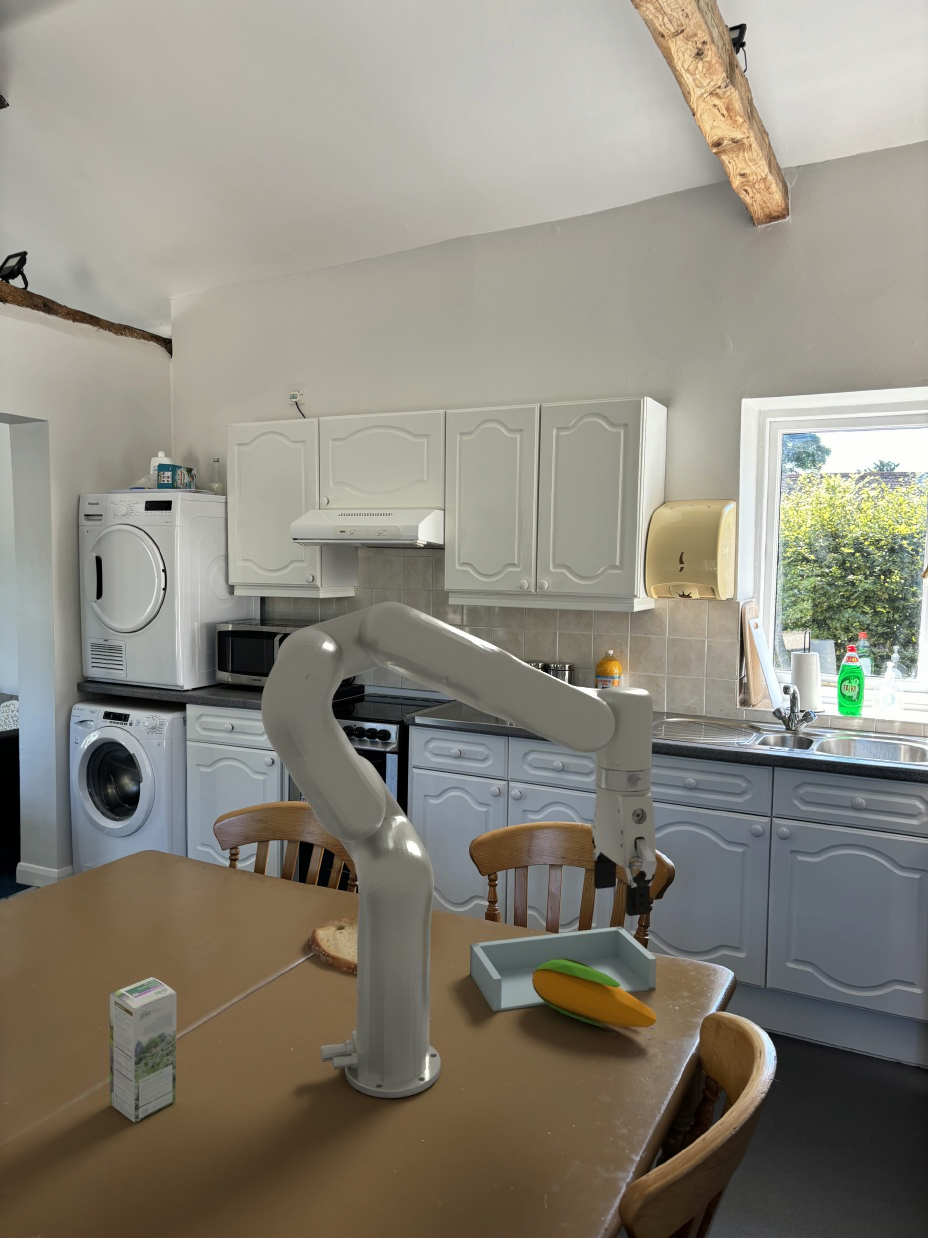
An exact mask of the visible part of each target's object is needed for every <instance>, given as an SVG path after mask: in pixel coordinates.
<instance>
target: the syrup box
mask: <svg viewBox="0 0 928 1238" xmlns="http://www.w3.org/2000/svg"><path fill="white" fill-rule="evenodd" d="M109 1055H110V1056H109V1060H110V1063H109V1069H110V1071H109V1072H110V1073H109V1078H110V1079H109V1083H110V1084H109V1089H110V1090H109V1093H110V1095H109V1096H110V1099H109V1101H110V1105H111V1106H112V1107H113V1108H114V1109H116V1110H117V1111H118V1112H120V1113H121V1114H122V1115H124V1116H125V1117H126V1118H128V1119H129V1120H130V1121H132V1122H133V1123H134V1124H135V1123H137V1122H139V1121H142V1120H143V1119H145V1118H147V1117H150V1116H151V1115H152V1114H154V1113H157V1112H158V1111H160V1110H162V1109H164V1108H166V1107H167V1106H168V1107H169V1106H170V1105H171V1104H173V1103H175V1102H176V1100H177V992H176V991H175V990H174V989H172V988H171V987H170V986H169V985H167V984H165V983H164V982H162V981H161V980H159V979H157V978H155V977H152V976H151V977H149V978H146V979H143V980H141V981H137V982H136V983H133V984H131V985H128V986H126V987H124V988H123V987H122V988H121V989H118V990H116V991H113V992H111V993H110V994H109Z"/></svg>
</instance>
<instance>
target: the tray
mask: <svg viewBox="0 0 928 1238" xmlns="http://www.w3.org/2000/svg"><path fill="white" fill-rule="evenodd" d="M469 947H470V949H469V950H470V951H469V954H470V955H469V974H470V977H472V979H473V981H474V982H475V984H476V986H477V987H478V988H479V991H480V992H481V994H482V995H483V997H484V999H485V1000H486V1002H487V1003H488V1005H489V1007H490V1008H491V1010H492V1011H493V1012H494V1013H495V1012H501V1011H508V1010H514V1009H522V1008H530V1007H536V1006H544V1005H547V1004H546V1003H545V1002H544V1001H543V1000H542V999H541V998H540V997H539V996H538V994H537V993H536V991H535V990H534V987H533V983H532V979H533V972H534V971H535V970H536V969H537V968H538V967H539V965H541V964H543V963H545V962H548V961H551V960H554V959H569V960H573V961H576V962H580V963H583V964H585V965H587V966H589V967H591V968H593V969H595V970H597V971H599V972H602V973H604V974H606V975H608V976H609V977H611V978H613V979H614V980H616V981H617V982H618V983H619V984H620V986H619V987H620V988H621V989H623V990H624V991H626V992H627V993H628V994H630V993H637V992H645V991H651V990H656V987H657V986H656V984H657V957H655V956H654V954H653V953H651V952H650V951H649V950H648V949H647V948H645V947H644V946H643V945H642V944H641V943H640V942H639V941H638V940H637V939H636V938H634V937H633V936H632V935H631V934H630V933H629V932H628V931H626V929H624V928H623V927H622V926H614V927H613V926H611V927H604V928H596V929H595V928H594V929H588V930H578V931H569V932H562V933H561V932H560V933H554V934H542V935H534V936H526V937H518V938H510V939H501V940H493V941H492V940H491V941H490V940H489V941H483V942H475V943H470V945H469Z"/></svg>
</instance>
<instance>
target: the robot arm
mask: <svg viewBox="0 0 928 1238" xmlns="http://www.w3.org/2000/svg"><path fill="white" fill-rule="evenodd" d="M380 667H383V669H384V668H385V669H387V670H389V671H391V672H393V673H395V674H398V675H399V676H402V677H404V678H406V679H408V680H412V681H413V682H416V683H419V684H421V685H423V686H425V687H426V688H427V687H428V688H430V689H432V690H434V691H436V692H439V693H441V694H443V695H445V696H447V697H450V698H452V699H454V700H456V701H457V702H460V703H462V704H464V705H465V704H466V705H468V706H469V707H471V708H474V709H476V710H477V711H480V712H482V713H484V714H487V715H489V716H493V717H496V718H497V719H501V720H503V721H506V722H508V723H510V724H513V725H514V726H517V727H519V728H521V729H523V730H526V731H528V732H530V733H531V734H534V735H536V736H538V737H540V738H543V739H545V740H548V741H550V742H552V743H554V744H557V745H559V746H561V747H563V748H565V749H568V750H570V751H573V752H575V753H580V754H592V753H595V772H594V773H595V776H594V777H595V781H594V782H595V784H594V788H595V789H596V794H595V795H596V796H595V804H594V805H595V806H594V817H593V818H594V820H593V822H591V824H590V829H591V834H592V839H591V843H592V846H593V848H594V850H593V852H592V855H593V859H594V862H593V863H594V864H593V865H594V867H593V868H594V869H593V872H594V873H593V887H594V889H597V890H602V889H610V888H615V887H616V886H617V865H618V866H619V867H621V868H623V869H624V870H625V874H626V877H627V880H628V883H629V884H627V885H626V886H625V887H626V888H625V914H626V915H627V916H628V917H633V916H643V915H648V914H649V913H650V901H651V900H650V897H651V896H650V895H651V894H650V893H651V887H652V886H653V885H652V884H653V880H654V879H655V872H656V870H657V866H658V862H657V859H656V849H657V848H656V822H655V821H656V820H655V812H654V811H655V810H654V809H655V808H654V802H653V798H652V797H653V796H652V794H651V790H652V758H653V757H652V754H653V753H652V752H653V751H652V749H653V721H654V720H653V714H654V713H653V712H654V701H653V696H652V694H651V693H650V692H649V691H648V690H646V689H644V688H640V687H639V688H638V687H631V686H612V687H606V688H592V687H583V686H575V685H572V684H569V683H568V682H565V681H563V680H561V679H559V678H556V677H555V676H552V675H550V674H548V673H546V672H543V671H542V670H539V669H538V668H536V667H533V666H531V665H530V664H528V663H526V662H524V661H522V660H521V659H519V658H517V657H515V656H514V655H513V654H511V653H510V652H508V651H505V650H504V649H502V648H501V647H498V646H495V645H493V644H492V643H490V642H487V641H486V640H483V639H482V638H479V637H476V636H475V635H472V634H471V633H468V632H466V631H464V630H462V629H459V628H457V627H455V626H453V625H450V624H449V623H447V622H444V621H442V620H440V619H439V618H436V617H434V616H431V615H429V614H427V613H424V612H422V611H421V610H418V609H416V608H414V607H411V606H410V605H407V604H404V603H401V602H399V601H398V602H397V601H383V602H380V603H376V604H373V605H371V606H368V607H365V608H361V609H358V610H357V611H352V612H350V613H346V614H344V615H341V616H337V617H334V618H331V619H328V620H325V621H322V622H321V621H320V622H317V623H315V624H312V625H309V626H305V627H303V628H300V629H297V630H295V631H294V632H292V633H291V634H289V635H288V636H287V637H286V638H285V639H284V640H283V642H282V643H281V645H280V646H279V649H278V652H277V657H276V659H275V663H274V664H273V666H272V667H271V671H270V672H269V674H268V677H267V679H266V682H265V684H264V688H263V691H262V696H261V704H260V705H261V709H260V710H261V711H260V712H261V719H262V720H261V721H262V724H263V725H262V726H263V729H264V732H265V734H266V737H267V739H268V742H269V743H270V745H271V746H272V749H273V750H274V751H275V753H276V754H277V756H278V758H279V759H280V762H281V763H282V764H283V765H284V767H285V769H286V770H287V772H288V774H289V776H290V777H291V779H292V781H293V782H294V784H295V786H296V787H297V788H298V790H299V792H300V793H301V795H302V796H303V798H304V799H305V801H306V803H307V804H308V805H309V807H310V809H311V811H312V812H313V814H314V816H315V819H316V820H317V822H318V824H319V825H320V826H321V827H322V828H323V829H324V831H325V832H326V833H327V834H329V835H331V836H332V837H333V838H335V839H337V840H338V841H340V843H341V845H342V846H343V847H344V849H345V850H346V852H347V854H348V855H349V857H350V858H351V859H352V861H353V864H354V866H355V867H354V868H355V873H356V877H357V888H358V909H357V910H358V911H357V917H358V927H357V974H356V975H357V976H356V981H357V982H356V983H357V984H356V985H357V987H356V999H357V1001H356V1005H357V1006H356V1008H357V1009H356V1014H357V1015H356V1020H357V1021H356V1030H353V1031H351V1039H347V1040H344V1043H339V1044H338V1043H337V1044H328V1045H327V1044H326V1045H321V1046H320V1059H321V1063H327V1062H332V1068H333V1070H335V1071H336V1070H339V1069H344V1075H345V1079H346V1080H347V1082H348V1083H349V1084H350V1086H352V1087H353V1088H354V1089H355V1090H356V1091H359V1092H360V1093H362V1094H366V1095H368V1096H371V1097H374V1098H375V1097H376V1098H382V1099H397V1098H403V1097H404V1098H405V1097H409V1096H411V1095H412V1096H413V1095H416V1094H418V1093H421V1092H422V1091H425V1090H426V1089H428V1088H429V1087H431V1086H432V1085H433V1084H434V1083H435V1082H436V1081H437V1080H438V1079H439V1076H440V1074H441V1067H442V1066H441V1065H442V1062H441V1057H440V1054H439V1053H438V1051H437V1050H436V1049H435V1048H434V1047H433V1046H432V1045H431V1044H430V1024H431V1023H430V1019H431V1018H430V1009H431V1005H430V1004H431V1001H430V1000H431V999H430V998H431V928H432V927H431V924H432V913H433V911H432V910H433V901H434V892H435V877H434V876H435V875H434V870H433V866H432V861H431V859H430V858H431V857H430V855H429V854H428V851H427V849H426V848H425V845H424V843H423V842H422V840H421V839H420V836H419V834H418V833H417V831H416V829H415V827H414V826H413V824H412V823H411V821H410V820H409V818H408V817H407V815H406V813H405V812H404V811H403V809H402V808H401V806H400V805H399V803H398V802H397V800H396V798H395V797H394V795H393V793H392V792H391V791H390V789H389V788H388V787H387V784H386V783H385V782H384V780H383V778H382V776H381V775H380V773H379V772H378V771H377V769H376V768H375V767H374V765H373V764H372V763H371V762H370V761H369V760H368V759H366V758H365V757H364V756H361V755H359V754H358V753H357V751H356V749H355V748H354V746H353V744H352V743H351V742H350V740H349V738H348V736H347V734H346V732H345V731H344V730H343V728H342V727H341V725H340V724H339V722H338V721H337V719H336V717H335V715H334V711H333V707H332V705H333V700H334V699H333V698H334V695H335V694H336V691H337V690H338V688H339V687H340V685H341V683H342V681H343V680H346V679H348V678H351V677H354V676H355V677H356V676H358V675H360V674H363V673H366V672H369V671H372V670H375V669H378V668H380ZM637 860H638V861H637ZM630 861H631V862H630ZM636 869H637V870H638V869H640V870H639V871H638V872H637V873H636V875H635V872H634V870H636Z"/></svg>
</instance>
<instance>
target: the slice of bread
mask: <svg viewBox="0 0 928 1238" xmlns="http://www.w3.org/2000/svg"><path fill="white" fill-rule="evenodd" d="M357 927H358V915H356V916H354V915H353V916H349V917H343V918H340V919H339V920H336V921H333V922H331V923H329V924H327V925H325V926H324V927H321V928H315V929H314V930H313V931H312V933H311V935H310V938H309V942H308V943H309V947H310V950H311V952H312V953H313V954H314V955H315V956H316V958H318V959H319V960H320V961H322V962H323V963H325V964H326V965H327V964H328V965H331V966H332V967H334V968H336V969H337V970H341V971H343V972H346V973H350V974H355V975H357Z"/></svg>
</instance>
